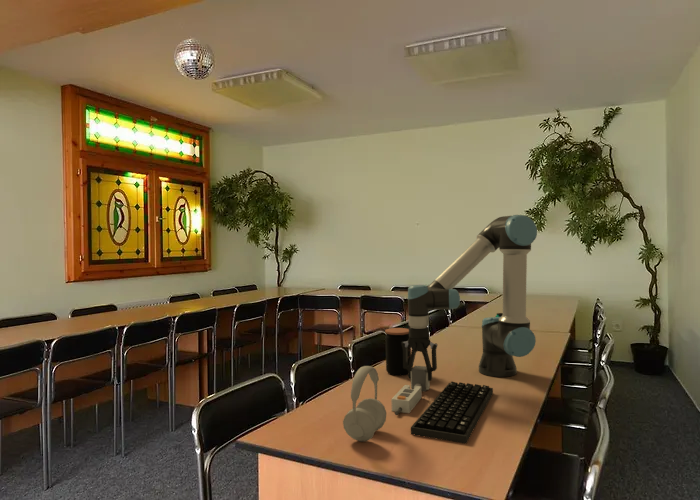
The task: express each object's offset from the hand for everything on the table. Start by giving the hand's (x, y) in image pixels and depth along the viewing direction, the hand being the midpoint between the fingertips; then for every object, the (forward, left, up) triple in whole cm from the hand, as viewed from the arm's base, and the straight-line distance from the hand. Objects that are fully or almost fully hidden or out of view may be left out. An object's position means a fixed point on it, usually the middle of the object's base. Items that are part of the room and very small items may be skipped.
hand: (420, 388), depth 176 cm
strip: (0, +19, 0) cm, 19 cm away
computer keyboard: (-17, +19, -1) cm, 25 cm away
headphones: (+4, +46, -1) cm, 46 cm away
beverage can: (-20, -112, -1) cm, 114 cm away
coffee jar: (+14, -19, -1) cm, 24 cm away
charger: (0, +2, 0) cm, 2 cm away
